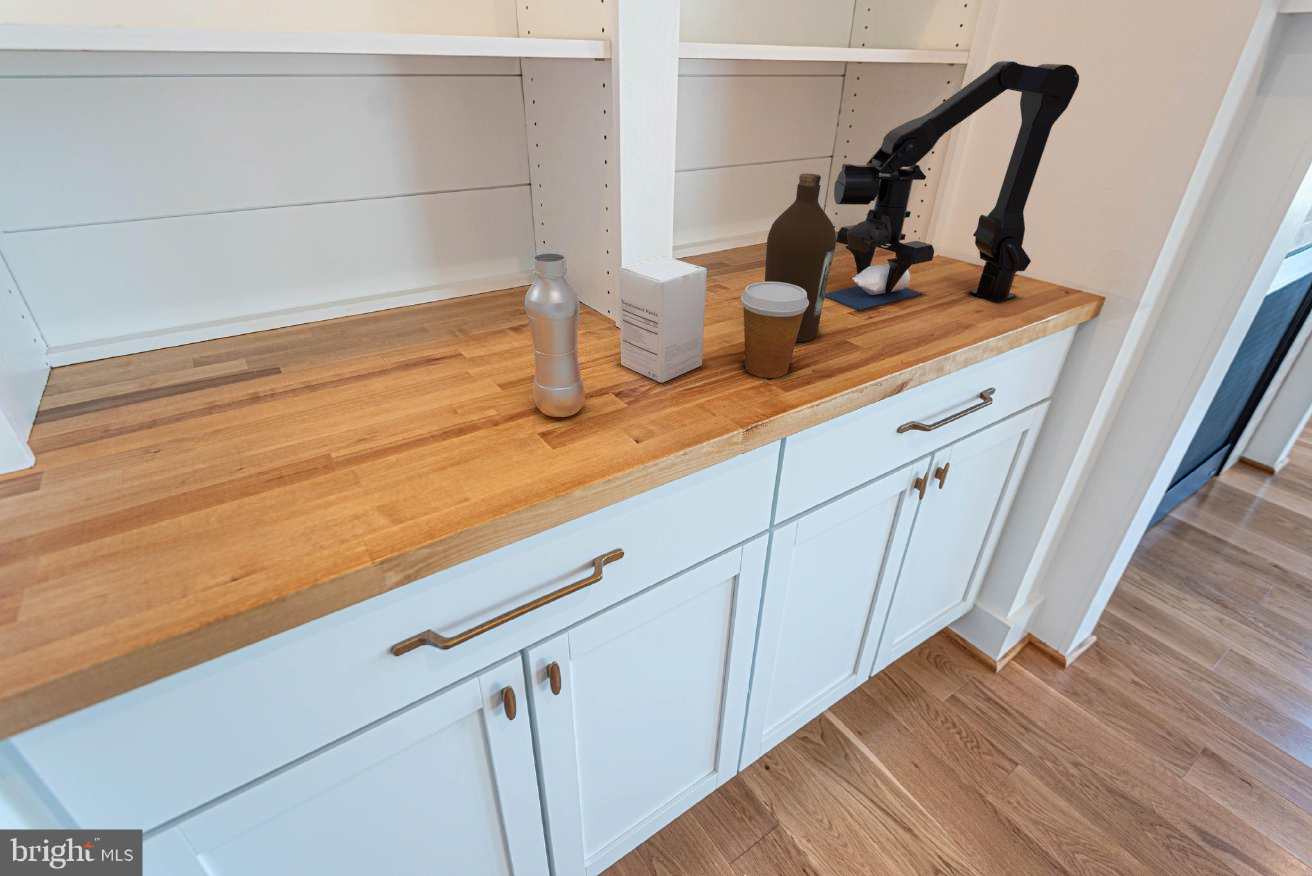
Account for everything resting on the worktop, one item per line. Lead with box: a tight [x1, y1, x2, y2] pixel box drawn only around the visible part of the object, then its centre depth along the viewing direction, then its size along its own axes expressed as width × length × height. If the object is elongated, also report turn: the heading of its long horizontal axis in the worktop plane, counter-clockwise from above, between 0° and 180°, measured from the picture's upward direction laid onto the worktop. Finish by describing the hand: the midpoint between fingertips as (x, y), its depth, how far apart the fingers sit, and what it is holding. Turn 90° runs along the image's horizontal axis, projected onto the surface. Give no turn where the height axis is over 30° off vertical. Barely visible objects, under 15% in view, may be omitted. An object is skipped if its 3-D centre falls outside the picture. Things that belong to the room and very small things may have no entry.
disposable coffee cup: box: [740, 281, 809, 379], centre depth 92 cm, size 10×10×12 cm
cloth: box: [824, 285, 923, 311], centre depth 125 cm, size 18×10×1 cm, turn 123°
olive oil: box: [764, 173, 837, 344], centre depth 101 cm, size 11×11×25 cm
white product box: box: [618, 255, 708, 384], centre depth 91 cm, size 9×9×15 cm
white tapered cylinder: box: [851, 263, 911, 295], centre depth 124 cm, size 6×12×6 cm, turn 118°
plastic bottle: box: [524, 252, 586, 418], centre depth 78 cm, size 6×7×20 cm
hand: (874, 287), depth 124 cm, fingers closed on white tapered cylinder, 6 cm apart
